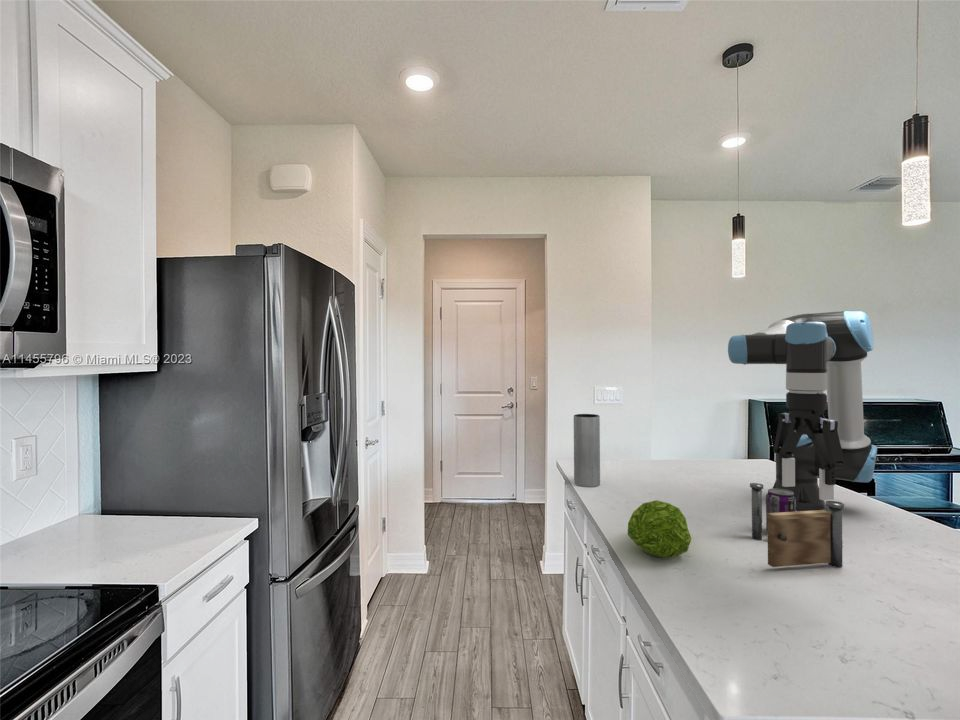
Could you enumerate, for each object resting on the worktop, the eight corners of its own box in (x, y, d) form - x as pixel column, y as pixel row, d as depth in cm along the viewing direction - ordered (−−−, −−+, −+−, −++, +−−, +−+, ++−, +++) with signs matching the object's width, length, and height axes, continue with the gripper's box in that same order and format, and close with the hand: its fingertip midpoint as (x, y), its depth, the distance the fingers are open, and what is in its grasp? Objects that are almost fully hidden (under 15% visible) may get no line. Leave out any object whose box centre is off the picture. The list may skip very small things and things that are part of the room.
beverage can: (800, 539, 131) (800, 495, 131) (771, 537, 132) (771, 494, 132) (789, 530, 138) (789, 488, 138) (762, 528, 139) (762, 487, 139)
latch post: (754, 535, 134) (754, 482, 134) (766, 539, 131) (765, 485, 131) (747, 537, 133) (747, 483, 133) (758, 541, 130) (758, 486, 130)
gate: (824, 559, 116) (824, 509, 116) (834, 564, 113) (834, 513, 113) (767, 563, 114) (767, 513, 114) (776, 569, 111) (776, 517, 111)
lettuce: (696, 540, 134) (685, 489, 137) (694, 562, 112) (681, 501, 115) (641, 543, 140) (632, 494, 143) (629, 564, 118) (618, 507, 121)
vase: (602, 487, 185) (602, 416, 185) (576, 487, 185) (576, 417, 185) (596, 480, 195) (596, 413, 195) (572, 480, 195) (571, 413, 195)
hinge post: (830, 560, 117) (830, 500, 117) (847, 566, 114) (847, 504, 114) (822, 563, 116) (822, 502, 116) (839, 569, 113) (839, 506, 112)
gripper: (868, 395, 96) (868, 507, 96) (783, 388, 118) (783, 479, 118) (834, 396, 95) (835, 509, 95) (755, 388, 117) (755, 480, 118)
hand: (806, 492), depth 107 cm, fingers open, 10 cm apart
